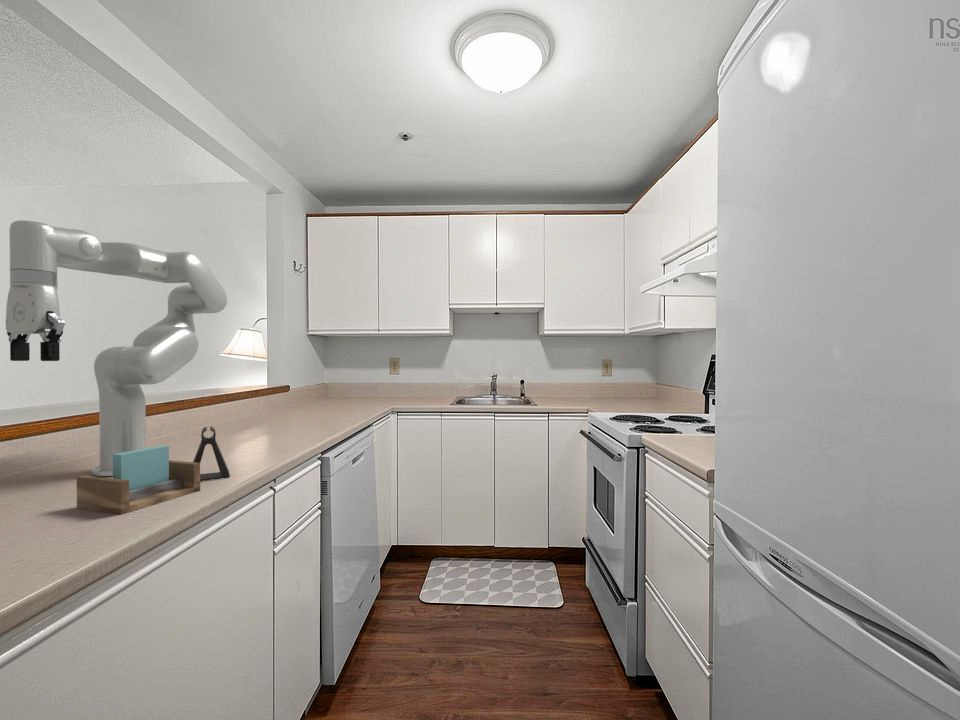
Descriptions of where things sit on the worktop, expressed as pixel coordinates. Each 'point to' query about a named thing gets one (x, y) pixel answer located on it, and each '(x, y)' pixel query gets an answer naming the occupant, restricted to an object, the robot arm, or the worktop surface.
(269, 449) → the worktop surface
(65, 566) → the worktop surface
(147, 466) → the door panel
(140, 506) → the cabinet track
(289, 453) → the worktop surface
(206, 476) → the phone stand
